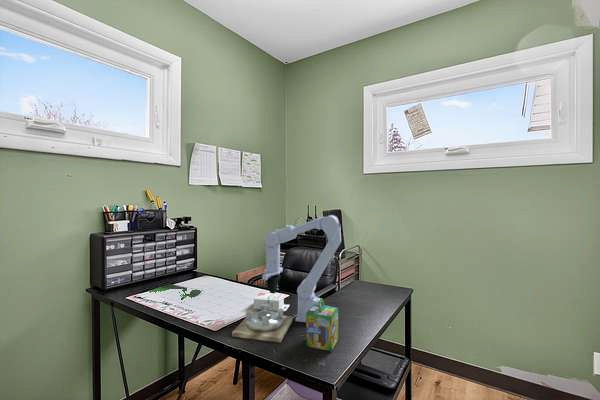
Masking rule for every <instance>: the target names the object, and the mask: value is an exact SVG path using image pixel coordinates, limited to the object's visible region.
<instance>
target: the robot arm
mask: <svg viewBox="0 0 600 400" xmlns="http://www.w3.org/2000/svg"><path fill="white" fill-rule="evenodd" d="M341 226H342V225H341V223H340V220H339V218H338V216H336V215H334V214H330V215H327V216H321V217H317V218H314V219H312V220H309V221H307V222H304V223H302V224H299V225H296V226H294V225H291V224H290V225H288V224H287V225H284V227H283V228H280V229H277V228H276V229H274V231H272V232H269V233H268V234H266V235H265V236H264V243H265V245H266V250H265V252H266V254H265V255H266V256H265V258H266V259H265V261H266V264H265V269H264V270H263V274H262V275H261V276H262V277H261V279H262V281H265V282H266V283H267V285H268V290H269V294H277V288H278V284H279V282H280V279H281V278H282V276H281V275H280V274H281V273H283V271H284V267H283V266H282V267H281V260H280V259H281V258H280V257H281V244H284V243H286V242H289V241H291V240H294V239H297V236H298V234H301V233H305V232H308V231H310V230H313V229H315V230H319V231H320V230H322V231H323V232H324V233H325V235H326V239H327V241H328V242H327V243H326V245H325V247H324V248H323V249H322V252H321V253H320V255H319V257H318V258H317V260H316V261H315V263H314V265H313V266H312V268H311V270H310V271H309V272H308V275H307V277H305V278H304V279H303V280H302V281H301V283H300V284H299V285H298V287H297V290H296V293H297V315H296V317H295V318H294V319H295V320H294V321H295V322H300V323H306V312H307V311H308V310H309V309H310V308H311V307H312V306H313V305H314V304H317V305H318V301H319V300H320V299H321V298H322V297H321V298H320V297H317V296H316V294H315V290H316V288H317V283H318V282H319V280H320V278H321V277H322V275H323V273H324V271H325V269H326V268H327V266H328V265H329V263H330V262H331V260H332V258H333V256H334V254H335V253H336V252H337V249H339V247H340V245H341V243H342V233H341V231H342V230H341V229H342V228H341ZM320 305H322V303H320Z"/></svg>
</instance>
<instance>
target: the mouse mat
mask: <svg viewBox="0 0 600 400" xmlns="http://www.w3.org/2000/svg"><path fill="white" fill-rule="evenodd" d="M187 288H188V287H185V286H180V285H177V284H173V283H169V284H166V285H162V286H159V287H156V288H153V289H150V290H148V291H149V292H150V293H151V292H155V293H156V292H157V291H158V292H159V291H160V292H161V291H166V290H169V289H183V290H182V291H183V292H184V293H185V291H187ZM194 289H195V288H194ZM200 290H201V289H197V288H196V289H195V290H192V291H191V292H190V294H186V293H185V295H184V294H183V295H182V294H181V295H182V296H183V297H182V296H181V295H180V296H181V297H182V298H181V300H183V299H184V298H186V297H187V296H189V297H191V299H193V298H196V297H198V296H200V295H201V294H200V293H201V291H203V290H201V291H200ZM179 293H180V292H179ZM199 294H200V295H199ZM192 297H193V298H192ZM182 303H183V302H181V303H180V304H182ZM164 305H167V303H165V304H164Z"/></svg>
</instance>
